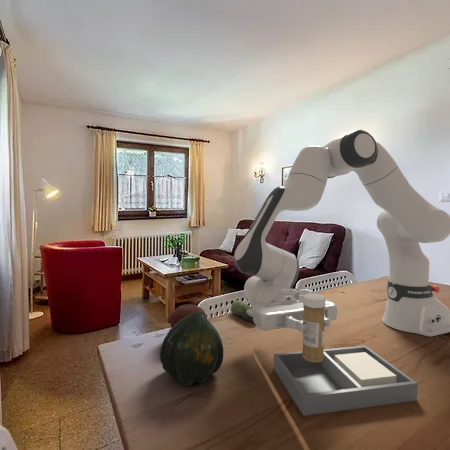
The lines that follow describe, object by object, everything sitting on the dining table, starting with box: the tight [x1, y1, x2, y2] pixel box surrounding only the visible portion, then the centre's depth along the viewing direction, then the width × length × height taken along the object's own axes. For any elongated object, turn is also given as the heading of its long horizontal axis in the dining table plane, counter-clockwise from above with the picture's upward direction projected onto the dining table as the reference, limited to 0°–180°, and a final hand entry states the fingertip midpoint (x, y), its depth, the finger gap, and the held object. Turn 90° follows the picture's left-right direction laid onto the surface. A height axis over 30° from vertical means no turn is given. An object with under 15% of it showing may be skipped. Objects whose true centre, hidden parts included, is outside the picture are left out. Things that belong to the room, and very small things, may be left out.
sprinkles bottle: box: [302, 292, 327, 363], centre depth 62 cm, size 5×5×14 cm
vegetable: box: [230, 299, 255, 323], centre depth 104 cm, size 14×5×5 cm, turn 33°
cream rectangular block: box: [334, 352, 396, 387], centre depth 65 cm, size 8×10×4 cm
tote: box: [273, 345, 419, 417], centre depth 64 cm, size 24×16×4 cm, turn 100°
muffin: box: [167, 304, 208, 329], centre depth 87 cm, size 12×11×10 cm
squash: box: [159, 311, 224, 387], centre depth 69 cm, size 14×15×15 cm
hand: (316, 326), depth 61 cm, fingers closed on sprinkles bottle, 4 cm apart
